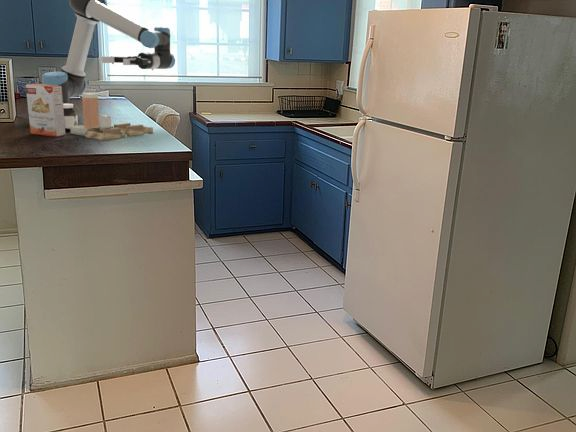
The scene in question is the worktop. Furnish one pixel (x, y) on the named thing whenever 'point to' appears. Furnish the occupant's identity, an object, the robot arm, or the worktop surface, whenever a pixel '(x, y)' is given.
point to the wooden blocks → (118, 131)
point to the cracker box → (45, 109)
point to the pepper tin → (104, 122)
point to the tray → (79, 130)
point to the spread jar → (69, 117)
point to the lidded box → (90, 110)
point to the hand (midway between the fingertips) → (112, 60)
